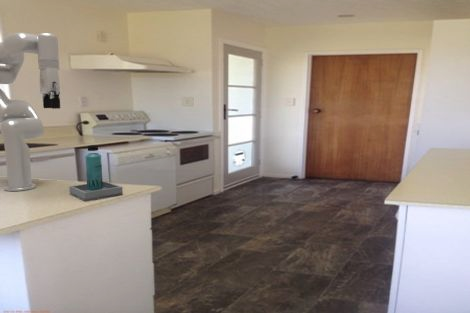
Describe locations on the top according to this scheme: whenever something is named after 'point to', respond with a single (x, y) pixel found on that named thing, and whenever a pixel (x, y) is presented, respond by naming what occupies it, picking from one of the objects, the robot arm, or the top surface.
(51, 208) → the top surface
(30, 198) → the top surface
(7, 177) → the robot arm
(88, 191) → the tray
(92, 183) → the beverage bottle
